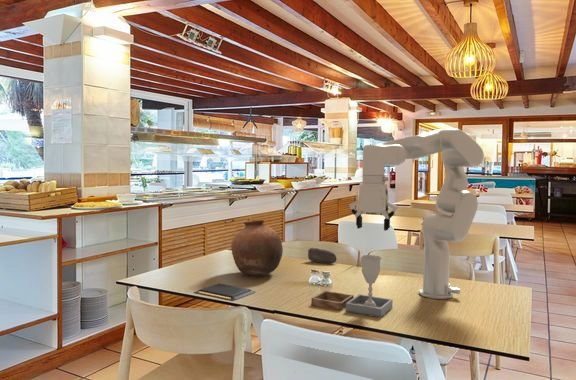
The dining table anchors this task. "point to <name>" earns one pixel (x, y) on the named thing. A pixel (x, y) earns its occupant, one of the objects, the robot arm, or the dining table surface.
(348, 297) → the tray
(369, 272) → the chalice
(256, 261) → the pottery
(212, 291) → the dark grey book
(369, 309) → the parts tray
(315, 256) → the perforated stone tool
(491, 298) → the dining table surface
